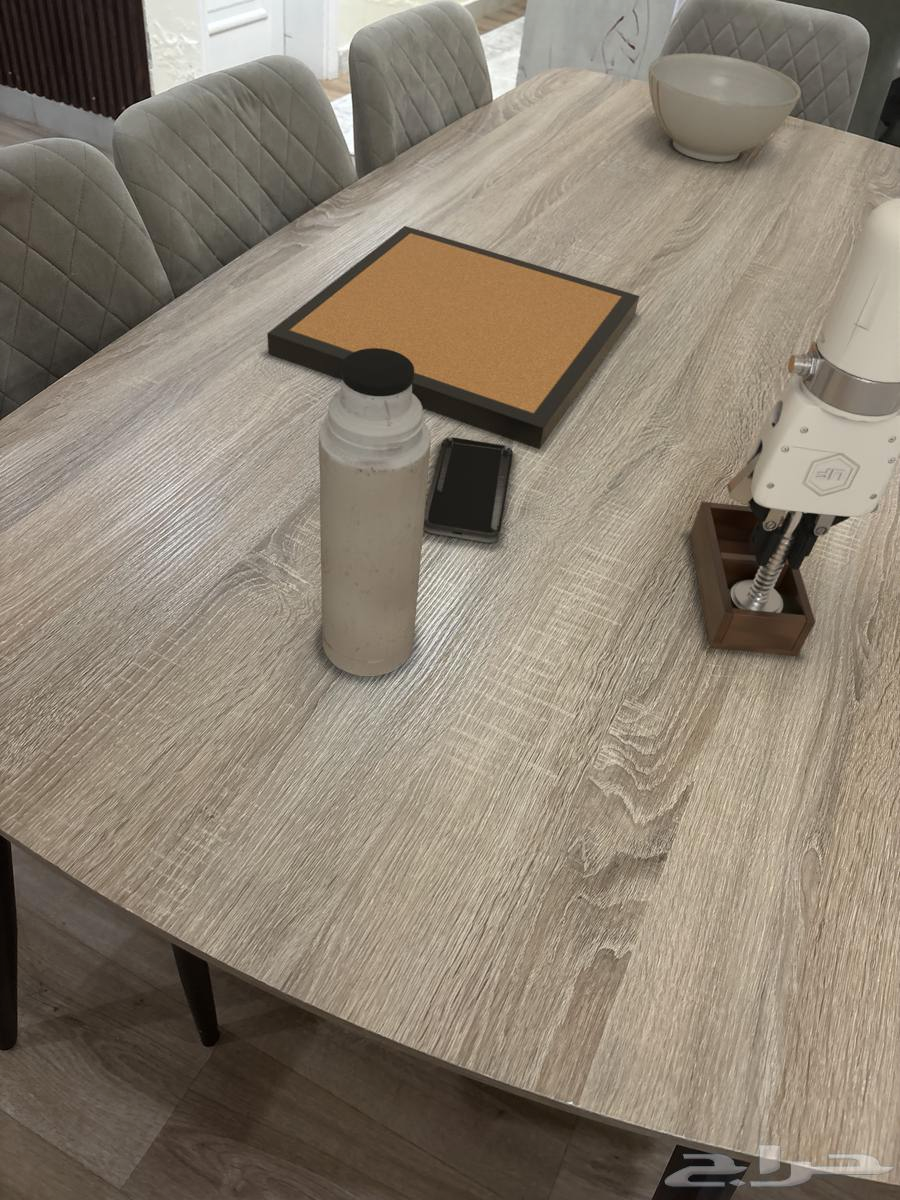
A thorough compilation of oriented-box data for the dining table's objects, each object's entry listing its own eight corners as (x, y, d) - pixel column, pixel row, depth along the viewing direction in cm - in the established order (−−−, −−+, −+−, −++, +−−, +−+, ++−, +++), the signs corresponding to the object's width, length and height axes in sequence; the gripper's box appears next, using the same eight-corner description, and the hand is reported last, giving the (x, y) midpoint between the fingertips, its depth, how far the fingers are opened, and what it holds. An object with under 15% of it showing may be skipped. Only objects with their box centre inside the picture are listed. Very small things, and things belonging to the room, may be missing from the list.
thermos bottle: (319, 611, 85) (312, 333, 65) (406, 606, 86) (427, 331, 66) (326, 680, 79) (321, 399, 59) (419, 673, 81) (446, 396, 61)
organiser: (766, 543, 97) (781, 509, 93) (797, 656, 86) (815, 622, 83) (689, 535, 96) (701, 501, 93) (710, 647, 86) (725, 613, 82)
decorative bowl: (604, 138, 173) (618, 66, 165) (691, 112, 187) (708, 45, 179) (722, 190, 161) (744, 115, 152) (806, 159, 175) (830, 89, 166)
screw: (781, 608, 89) (767, 640, 86) (732, 588, 90) (717, 619, 87) (833, 503, 80) (819, 534, 77) (777, 482, 81) (762, 512, 78)
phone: (513, 446, 102) (499, 536, 92) (512, 455, 103) (497, 545, 93) (442, 435, 103) (420, 523, 92) (441, 444, 104) (419, 532, 93)
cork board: (403, 244, 136) (268, 354, 113) (404, 225, 134) (267, 332, 111) (634, 315, 128) (539, 449, 105) (639, 295, 126) (543, 428, 103)
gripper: (760, 393, 67) (690, 577, 80) (980, 417, 67) (874, 596, 80) (742, 339, 72) (679, 520, 85) (947, 361, 72) (853, 538, 86)
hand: (775, 555), depth 83 cm, fingers closed on screw, 2 cm apart
